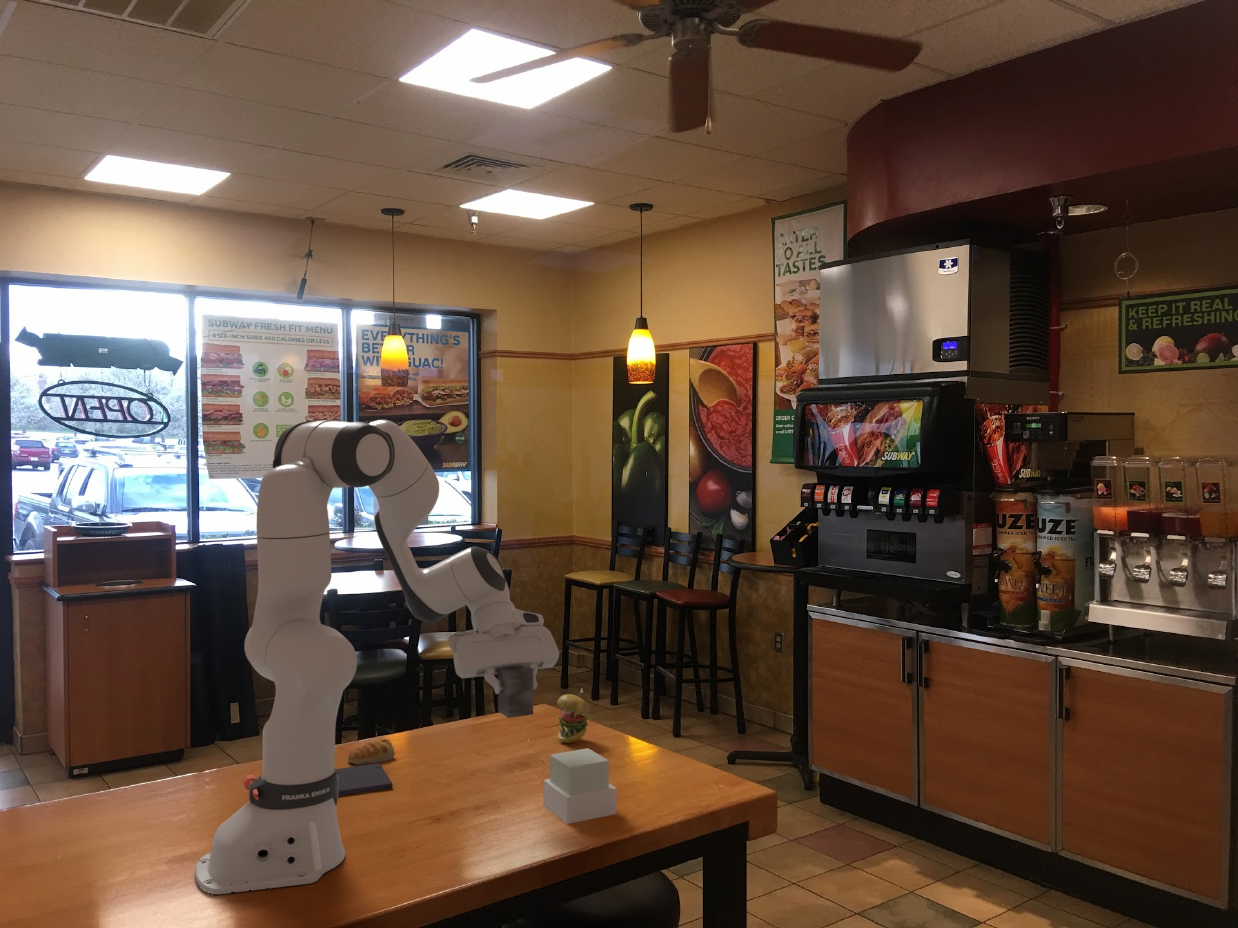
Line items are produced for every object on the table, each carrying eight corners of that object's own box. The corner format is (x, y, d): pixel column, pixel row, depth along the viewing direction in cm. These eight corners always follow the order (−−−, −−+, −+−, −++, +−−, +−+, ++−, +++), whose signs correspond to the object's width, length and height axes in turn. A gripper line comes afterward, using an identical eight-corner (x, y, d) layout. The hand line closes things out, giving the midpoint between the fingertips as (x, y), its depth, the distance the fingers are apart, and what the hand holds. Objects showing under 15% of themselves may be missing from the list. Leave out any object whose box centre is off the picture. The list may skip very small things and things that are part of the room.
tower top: (569, 795, 174) (569, 767, 174) (549, 781, 181) (550, 754, 181) (608, 787, 178) (608, 760, 178) (588, 774, 185) (588, 748, 185)
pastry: (357, 769, 201) (357, 750, 201) (341, 761, 206) (341, 743, 206) (397, 759, 208) (397, 741, 208) (381, 751, 213) (381, 734, 212)
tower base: (566, 825, 173) (567, 797, 173) (543, 806, 182) (543, 779, 182) (616, 815, 178) (616, 788, 178) (591, 797, 187) (591, 771, 187)
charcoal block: (508, 717, 178) (508, 674, 178) (497, 710, 183) (498, 668, 183) (533, 714, 181) (533, 671, 181) (522, 707, 185) (522, 665, 185)
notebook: (277, 807, 181) (392, 790, 190) (277, 799, 181) (392, 782, 190) (270, 785, 193) (379, 770, 201) (270, 777, 193) (379, 762, 201)
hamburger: (551, 737, 222) (552, 685, 222) (581, 734, 225) (581, 682, 225) (563, 747, 215) (563, 693, 215) (593, 744, 218) (594, 690, 218)
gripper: (449, 623, 182) (467, 687, 174) (549, 614, 192) (571, 674, 184) (442, 642, 186) (459, 706, 178) (540, 632, 196) (561, 692, 188)
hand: (517, 689), depth 181 cm, fingers closed on charcoal block, 5 cm apart
